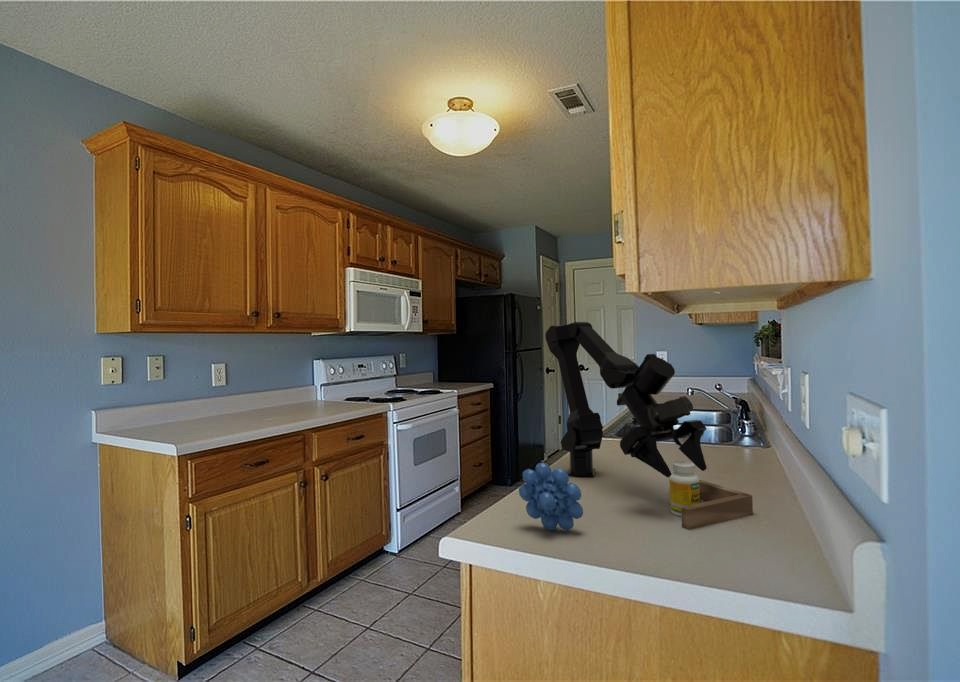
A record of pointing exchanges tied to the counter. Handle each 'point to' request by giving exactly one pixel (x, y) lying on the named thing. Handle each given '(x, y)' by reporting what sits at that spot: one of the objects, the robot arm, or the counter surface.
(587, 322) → the robot arm
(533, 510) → the blue knobby flower
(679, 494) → the supplement bottle
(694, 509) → the walnut corner walls
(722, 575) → the counter surface
